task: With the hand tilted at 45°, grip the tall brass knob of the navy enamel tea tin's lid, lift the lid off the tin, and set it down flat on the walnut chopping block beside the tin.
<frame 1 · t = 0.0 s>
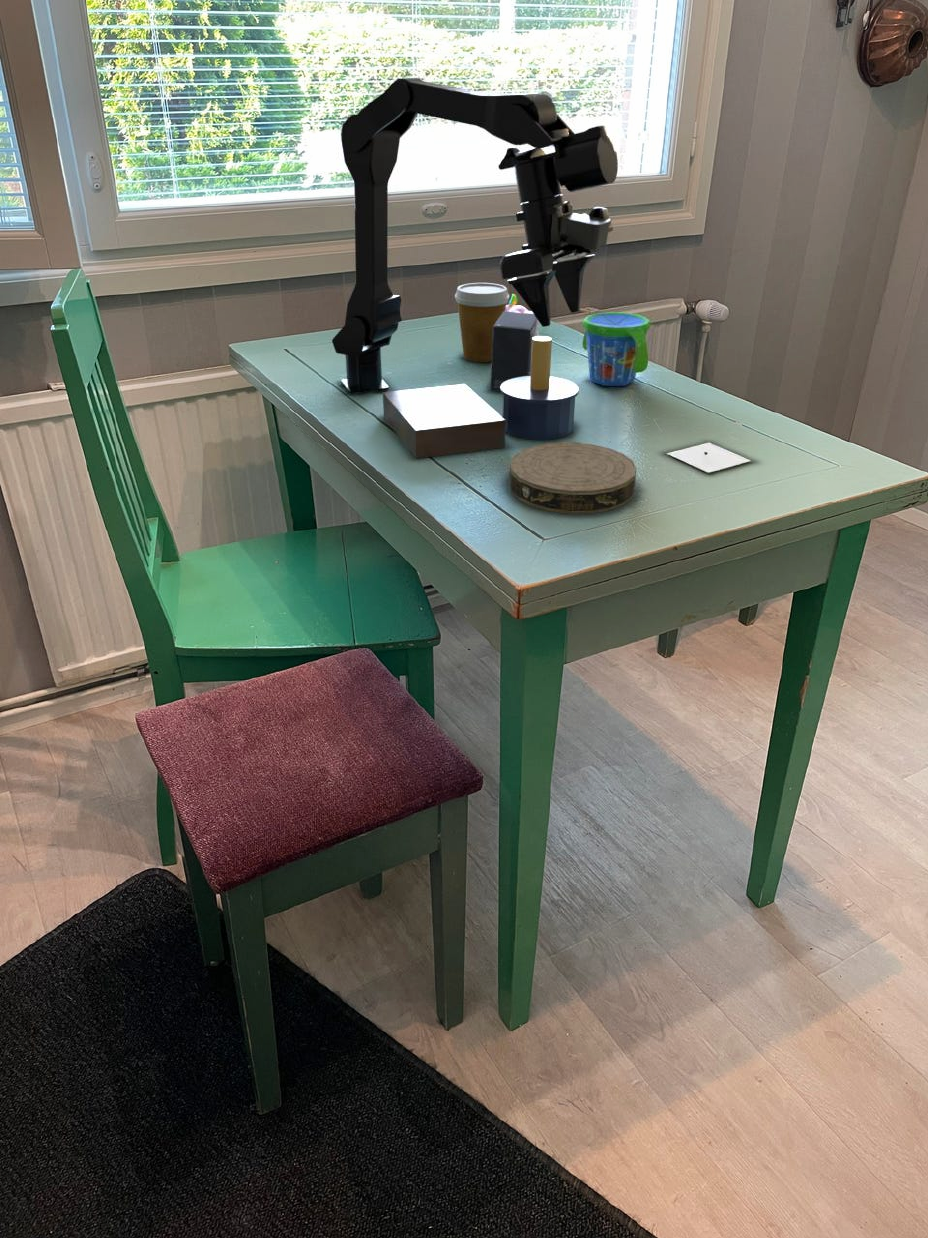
hand: (561, 318, 131), 15 cm above the table, tool pointing down, fingers open, 9 cm apart
coaster: (708, 458, 128), on the table
disposable coffee cup: (481, 358, 169), on the table
tin: (537, 427, 138), on the table
small box: (514, 384, 156), on the table
block: (442, 432, 136), on the table
snack cup: (611, 382, 157), on the table
lid: (539, 390, 135), point 5 cm above the table, touching tin
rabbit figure: (515, 325, 188), on the table
brown flat disc: (571, 488, 120), on the table
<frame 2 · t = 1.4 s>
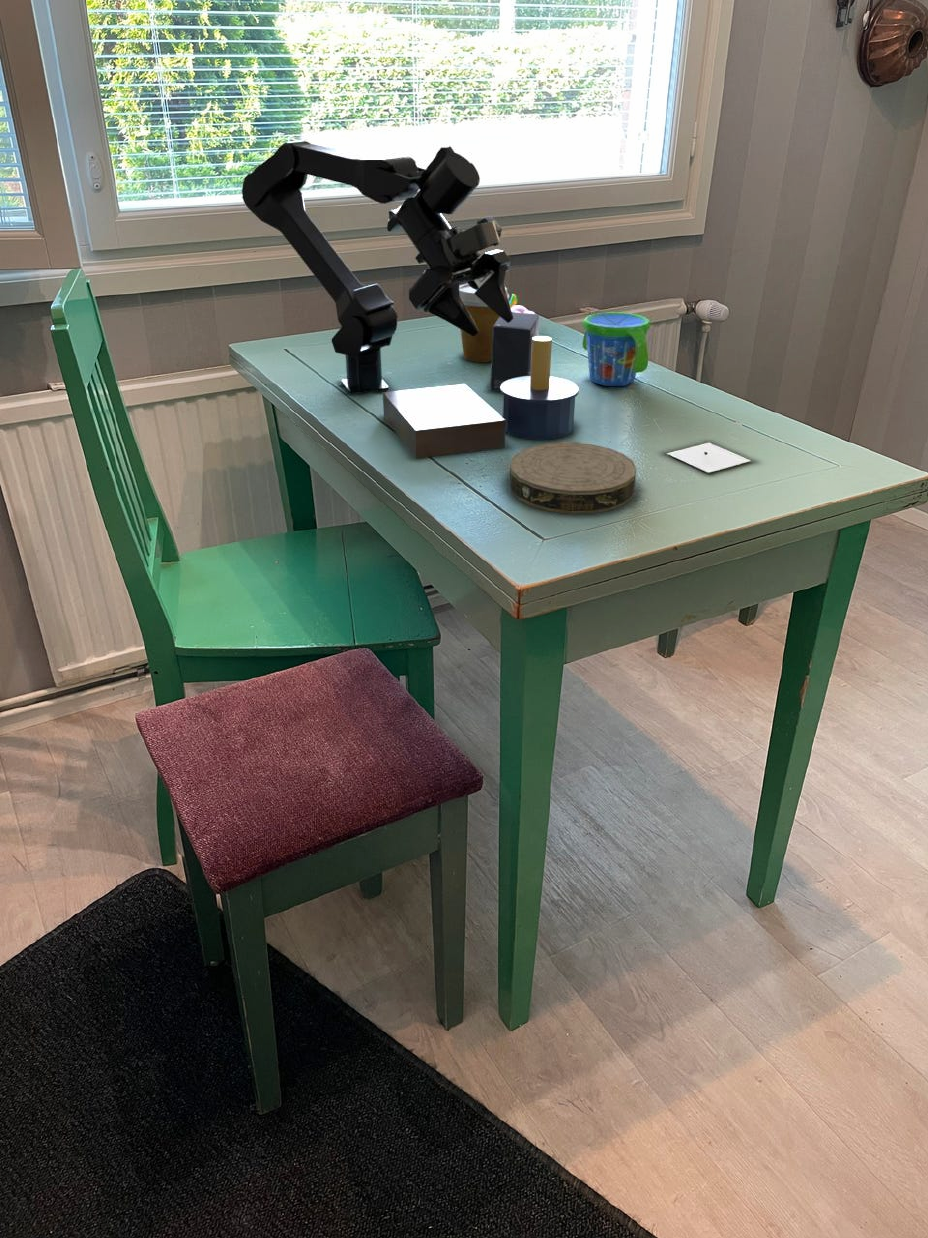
hand: (494, 327, 135), 13 cm above the table, tool tilted 45°, fingers open, 9 cm apart
nothing on the table moved.
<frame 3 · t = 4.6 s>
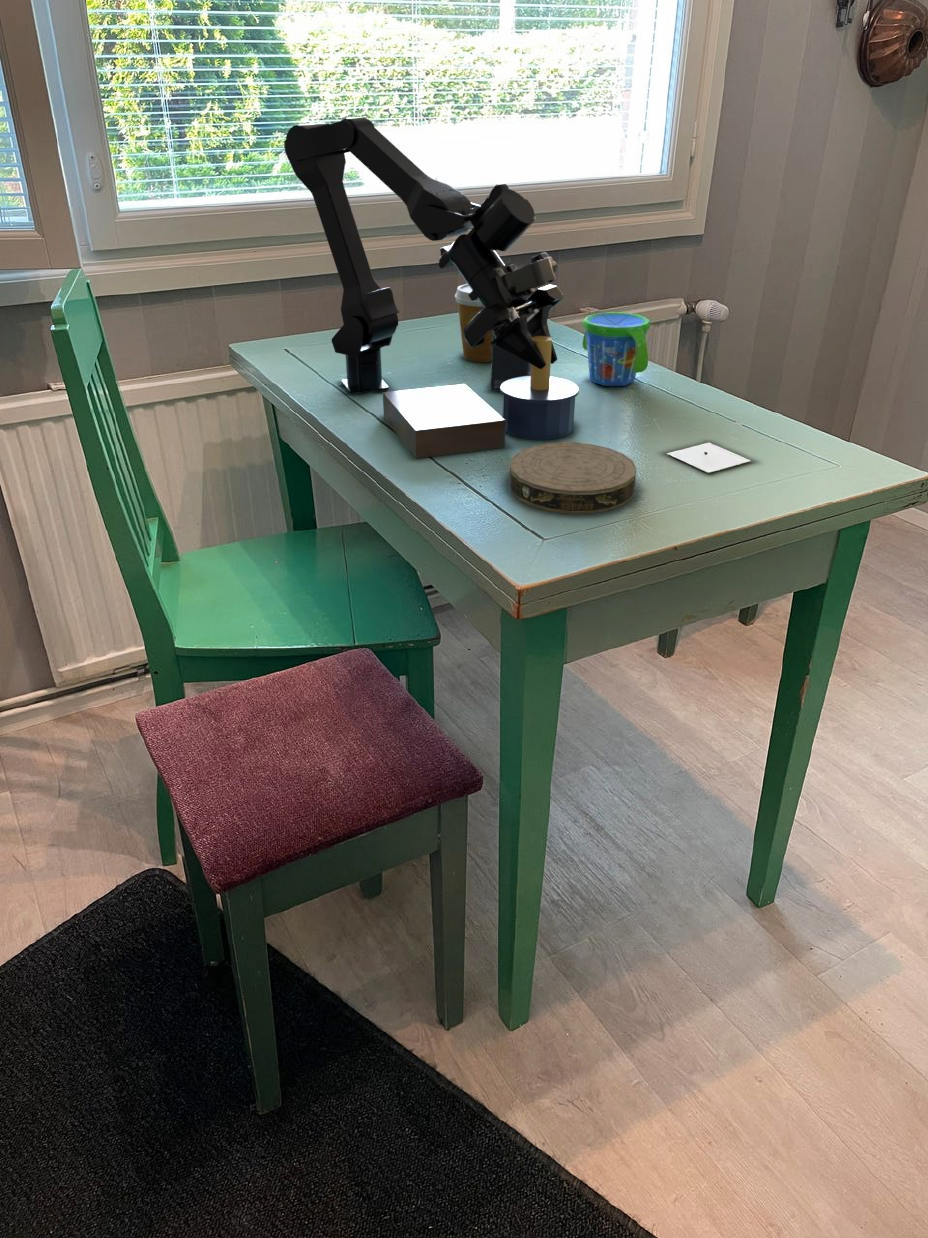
hand: (549, 364, 132), 10 cm above the table, tool tilted 45°, fingers closed on lid, 3 cm apart
lid: (539, 390, 135), point 6 cm above the table, touching gripper, tin
everything else where it was.
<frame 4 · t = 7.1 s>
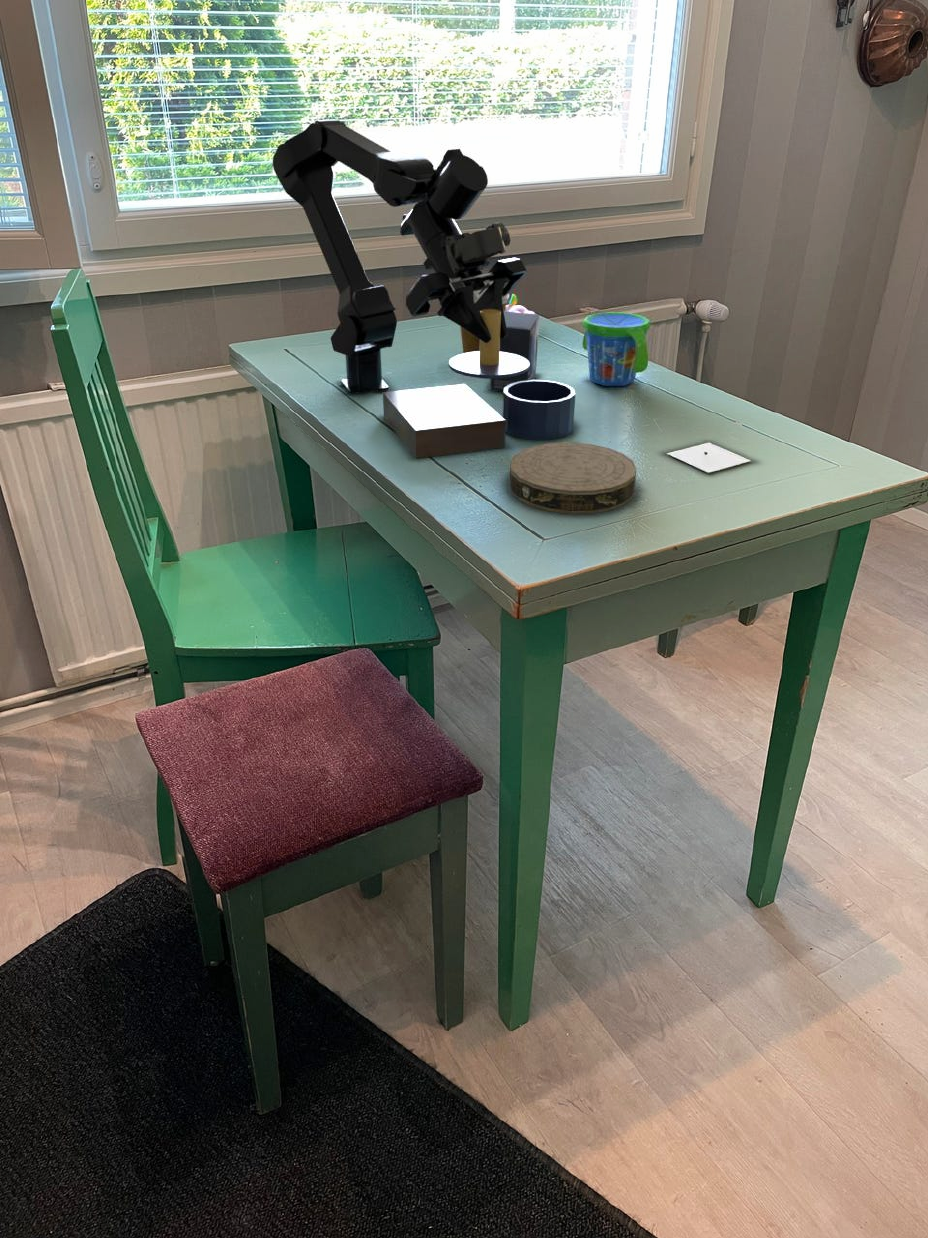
hand: (496, 338, 128), 14 cm above the table, tool tilted 45°, fingers closed on lid, 3 cm apart
lid: (489, 366, 131), point 10 cm above the table, touching gripper
everything else where it was.
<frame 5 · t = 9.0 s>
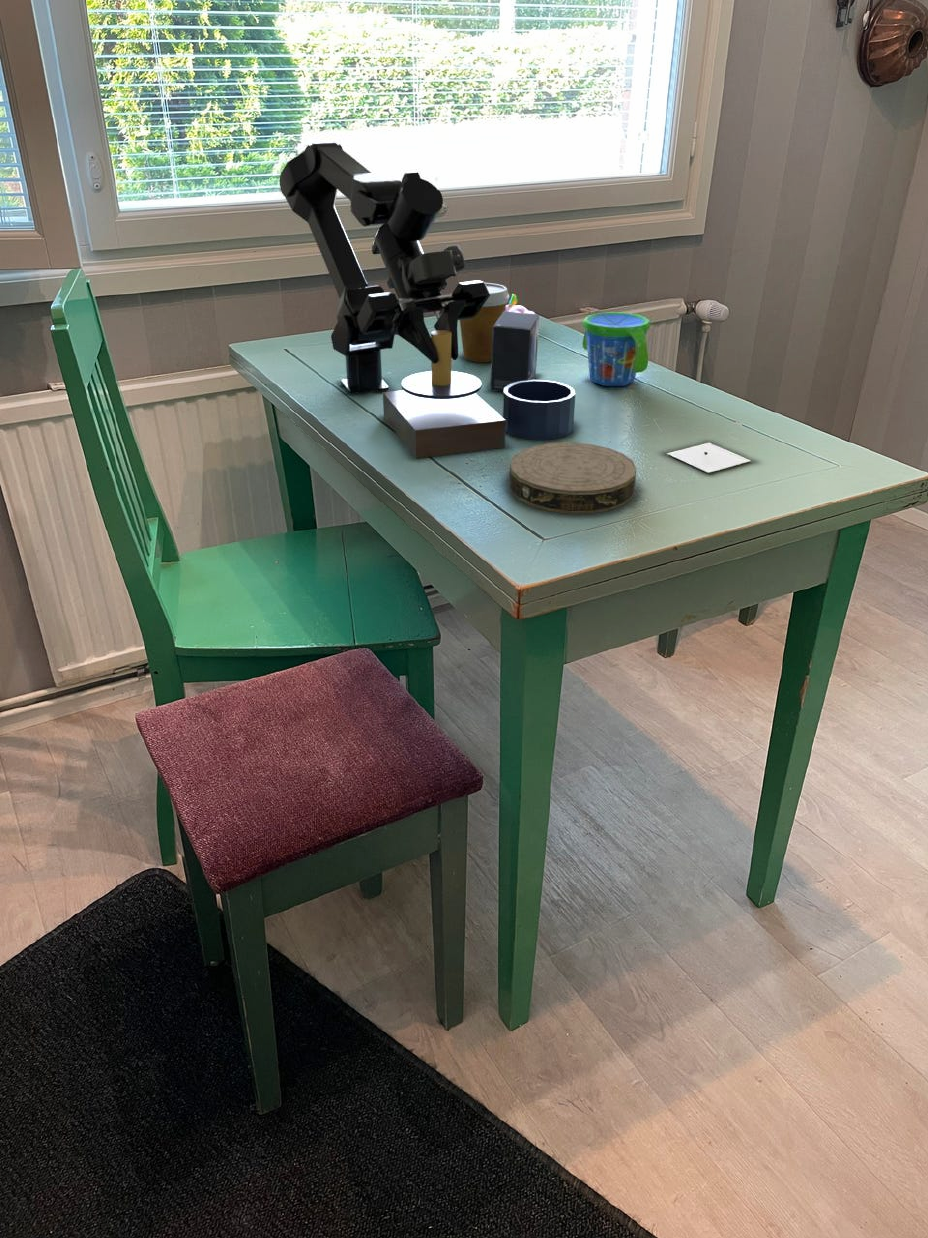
hand: (446, 360, 129), 11 cm above the table, tool tilted 45°, fingers closed on lid, 3 cm apart
lid: (441, 386, 133), point 7 cm above the table, touching gripper
everything else where it was.
when the fingers open (9 cm above the table, at t = 9.9 s): lid stays where it is, resting on block.
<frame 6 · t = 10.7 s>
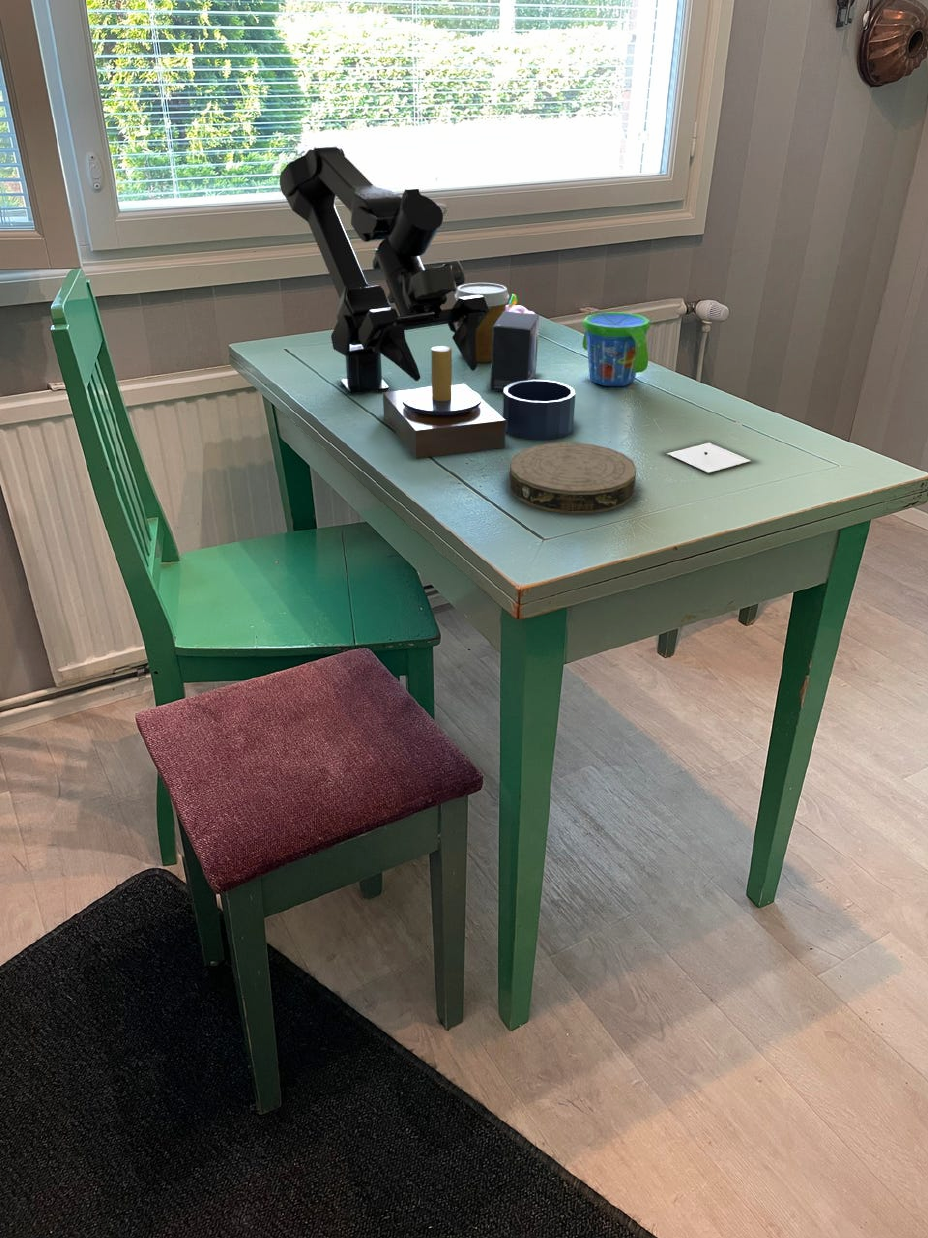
hand: (446, 374, 130), 9 cm above the table, tool tilted 45°, fingers open, 9 cm apart
lid: (441, 401, 134), point 5 cm above the table, touching block
everything else where it was.
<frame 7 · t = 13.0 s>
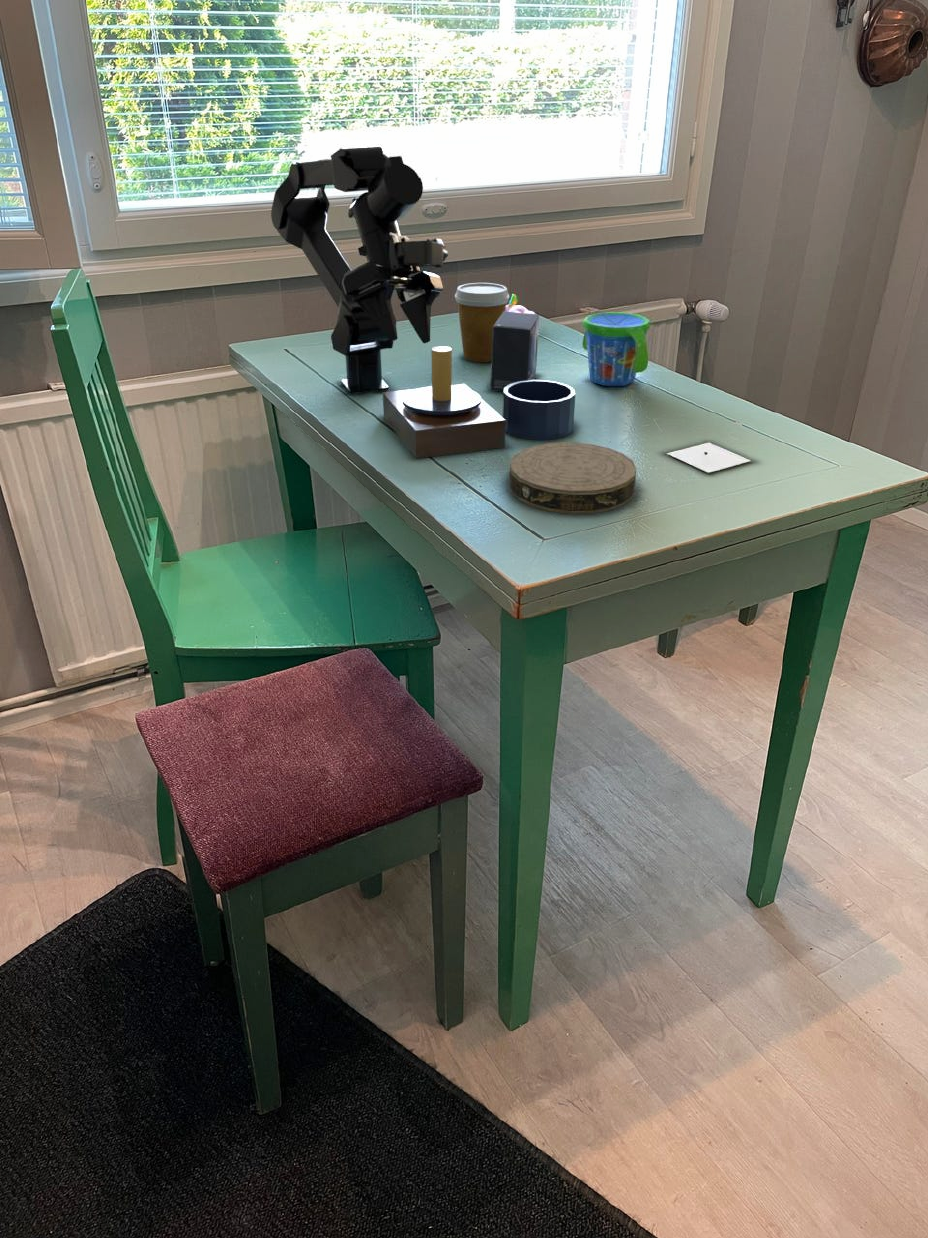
hand: (411, 341, 137), 11 cm above the table, tool tilted 30°, fingers open, 9 cm apart
nothing on the table moved.
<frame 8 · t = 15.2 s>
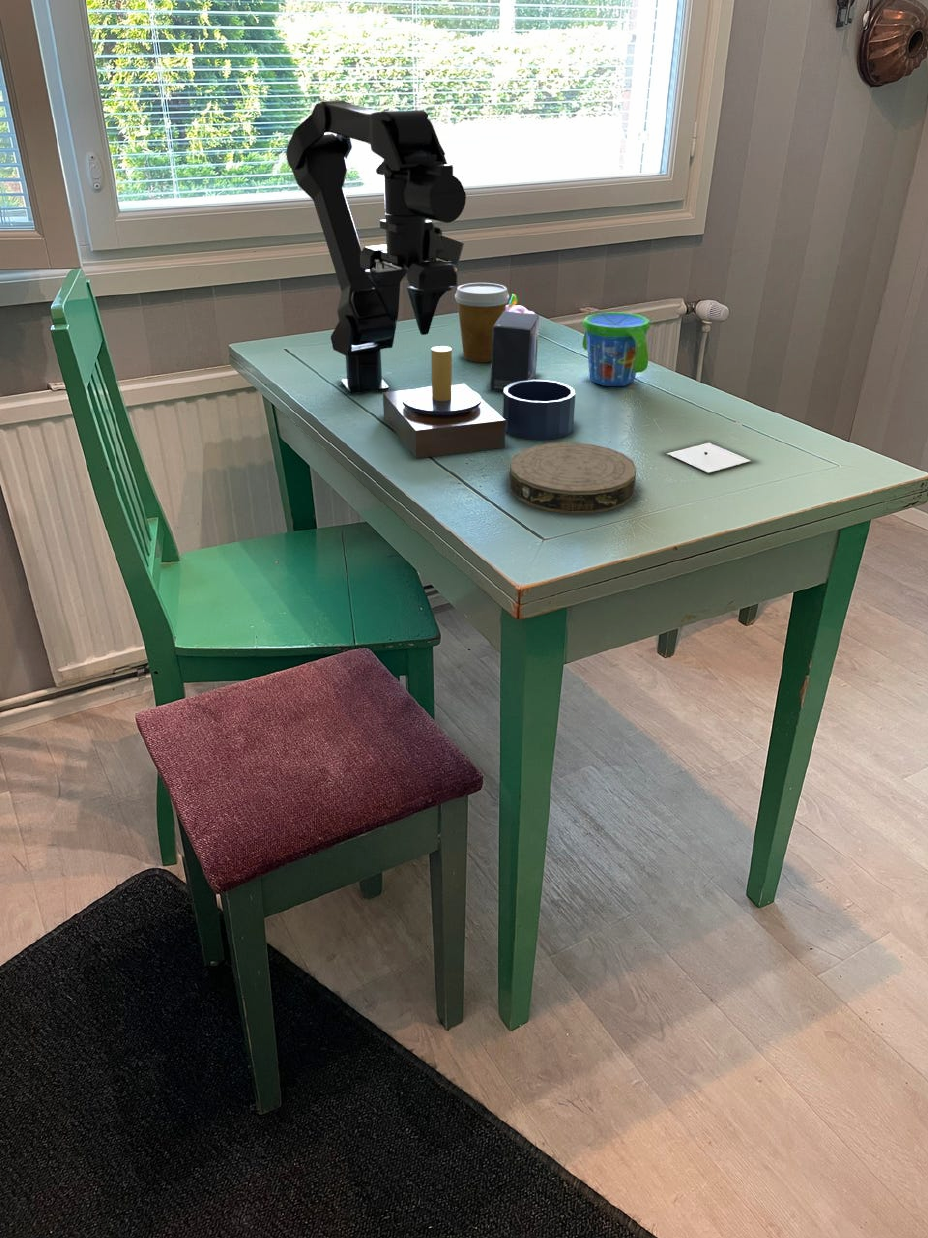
hand: (408, 327, 138), 12 cm above the table, tool pointing down, fingers open, 9 cm apart
nothing on the table moved.
at the end: lid inside the target area on the block (0.0 cm from its centre), point 4.6 cm above the block's base; lid tilted 0°; lid touching block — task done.
